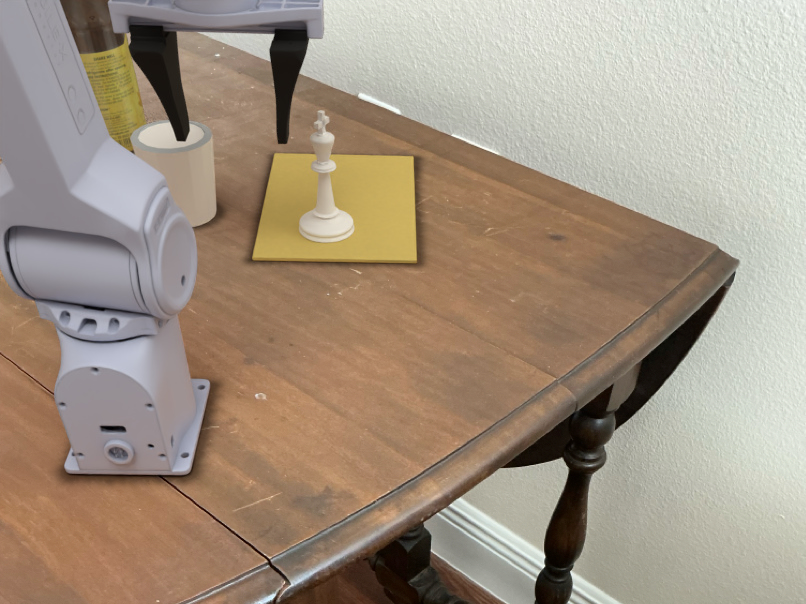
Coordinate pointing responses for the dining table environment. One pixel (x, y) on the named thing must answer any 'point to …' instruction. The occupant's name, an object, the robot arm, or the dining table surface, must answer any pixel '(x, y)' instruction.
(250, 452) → the dining table surface
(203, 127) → the cream cylinder
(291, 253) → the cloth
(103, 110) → the sauce bottle
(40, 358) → the dining table surface
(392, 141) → the dining table surface
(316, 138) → the chess piece
